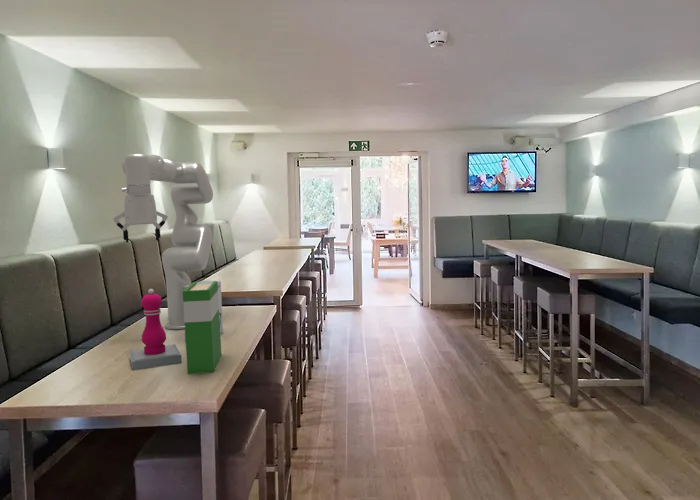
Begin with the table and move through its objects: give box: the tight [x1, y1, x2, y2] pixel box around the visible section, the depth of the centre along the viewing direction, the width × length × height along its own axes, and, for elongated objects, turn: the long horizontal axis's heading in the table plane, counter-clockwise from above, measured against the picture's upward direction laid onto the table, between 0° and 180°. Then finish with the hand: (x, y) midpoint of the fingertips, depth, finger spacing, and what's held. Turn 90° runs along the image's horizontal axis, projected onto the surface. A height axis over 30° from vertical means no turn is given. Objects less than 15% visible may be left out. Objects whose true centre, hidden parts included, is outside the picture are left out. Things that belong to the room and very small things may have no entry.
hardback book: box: [183, 280, 222, 375], centre depth 165 cm, size 18×7×24 cm, turn 6°
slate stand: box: [129, 344, 183, 371], centre depth 171 cm, size 14×14×3 cm
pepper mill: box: [140, 288, 167, 355], centre depth 170 cm, size 7×7×20 cm
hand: (142, 241), depth 186 cm, fingers open, 9 cm apart
